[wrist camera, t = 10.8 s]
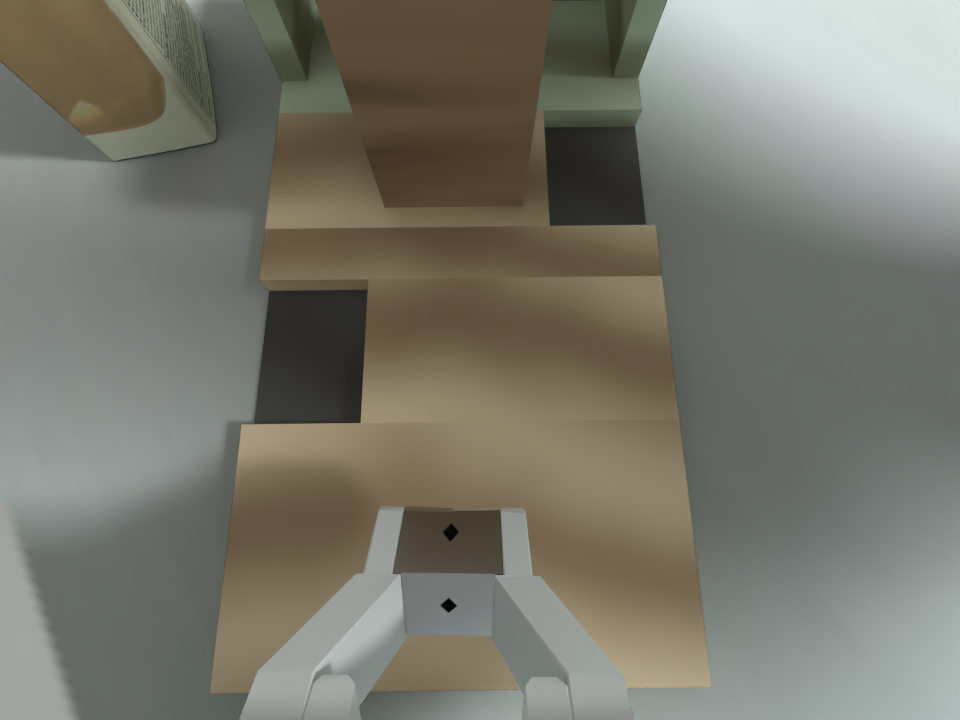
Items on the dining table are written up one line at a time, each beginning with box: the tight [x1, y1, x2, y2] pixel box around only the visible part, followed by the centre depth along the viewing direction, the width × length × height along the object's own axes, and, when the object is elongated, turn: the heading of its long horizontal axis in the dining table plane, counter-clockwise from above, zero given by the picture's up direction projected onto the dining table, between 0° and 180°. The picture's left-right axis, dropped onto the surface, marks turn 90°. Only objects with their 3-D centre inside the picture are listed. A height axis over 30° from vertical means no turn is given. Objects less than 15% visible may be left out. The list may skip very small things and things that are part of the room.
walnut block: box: [315, 0, 553, 208], centre depth 14 cm, size 8×5×9 cm, turn 1°
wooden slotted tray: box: [210, 0, 712, 694], centre depth 16 cm, size 26×14×4 cm, turn 1°
